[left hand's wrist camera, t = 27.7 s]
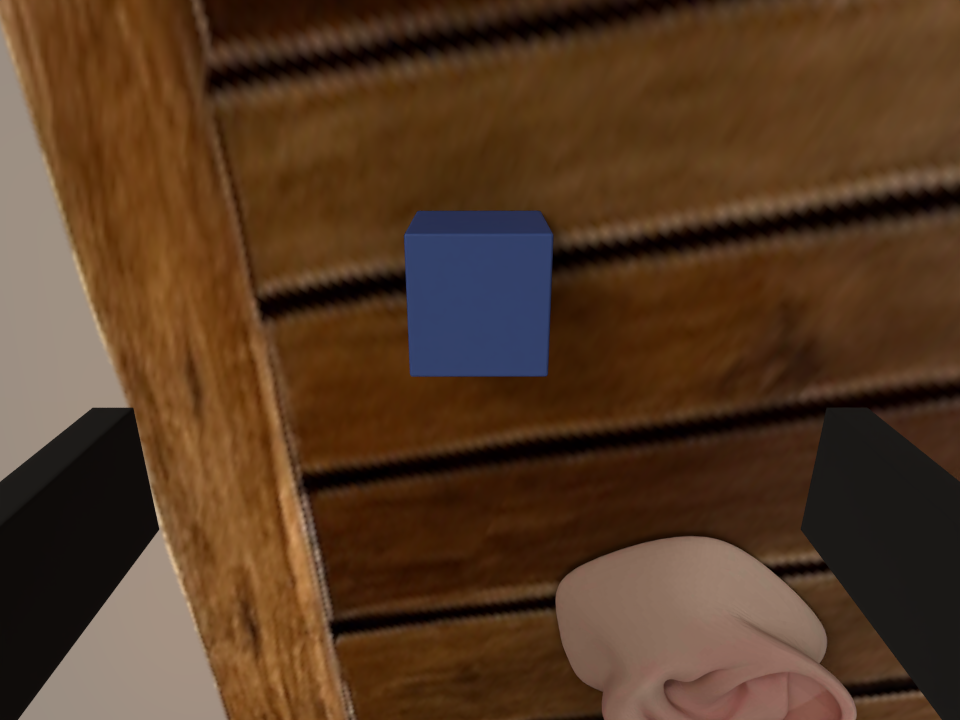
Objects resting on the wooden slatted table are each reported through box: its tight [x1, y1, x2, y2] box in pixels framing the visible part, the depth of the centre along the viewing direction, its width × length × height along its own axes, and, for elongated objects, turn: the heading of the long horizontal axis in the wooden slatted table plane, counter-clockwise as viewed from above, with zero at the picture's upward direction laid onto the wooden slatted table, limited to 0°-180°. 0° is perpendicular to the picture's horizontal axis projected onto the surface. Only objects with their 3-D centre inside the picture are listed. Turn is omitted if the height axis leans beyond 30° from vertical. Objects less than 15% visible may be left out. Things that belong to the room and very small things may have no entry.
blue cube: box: [404, 211, 553, 376], centre depth 24 cm, size 5×5×5 cm
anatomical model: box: [556, 536, 856, 720], centre depth 31 cm, size 13×4×12 cm
